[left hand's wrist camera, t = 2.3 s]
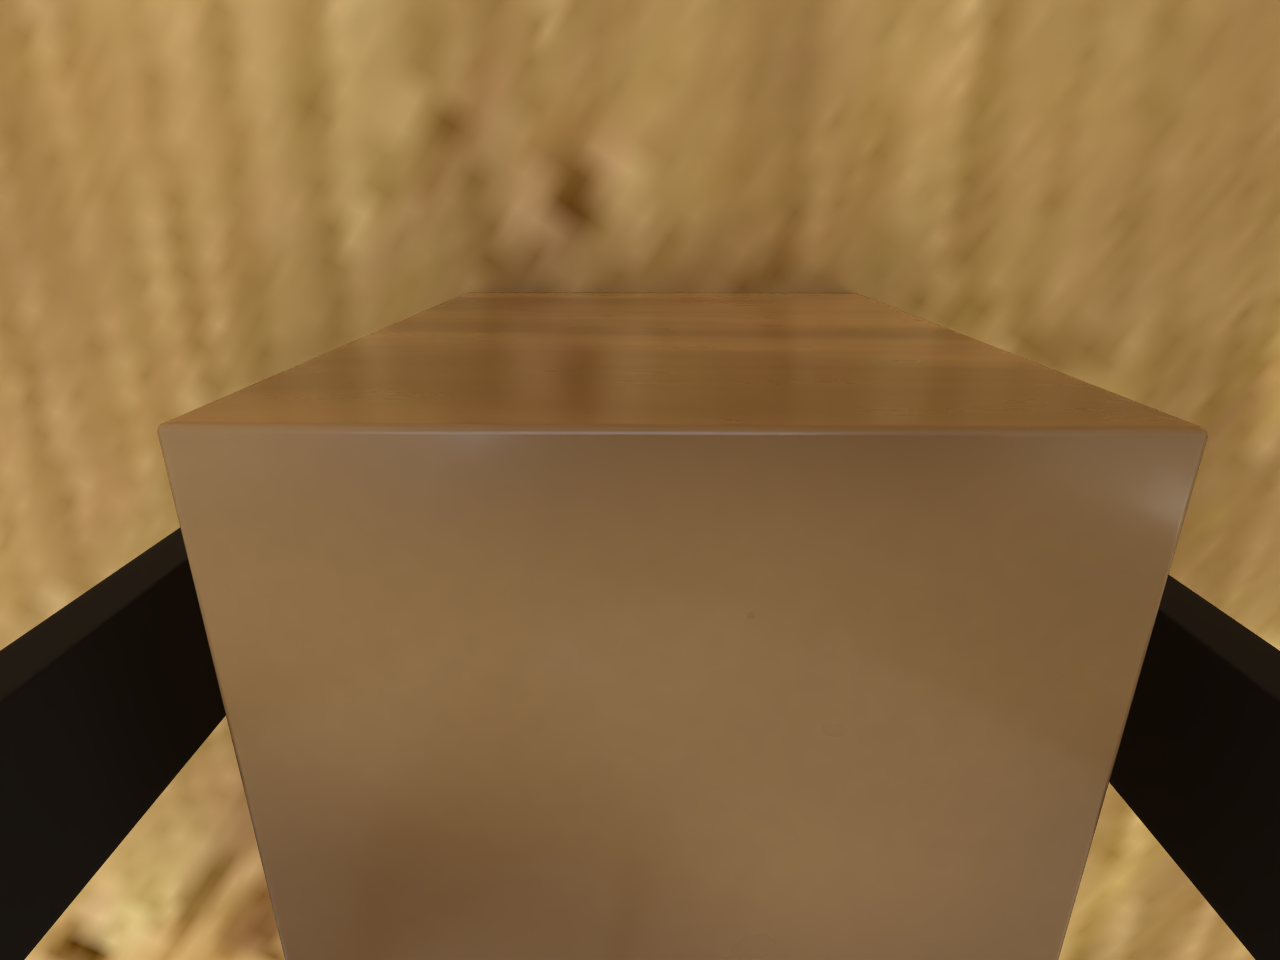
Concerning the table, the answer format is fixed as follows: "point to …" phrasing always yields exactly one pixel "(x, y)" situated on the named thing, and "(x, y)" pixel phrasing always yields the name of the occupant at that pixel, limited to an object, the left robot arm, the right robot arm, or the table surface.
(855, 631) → the box
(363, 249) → the table surface
